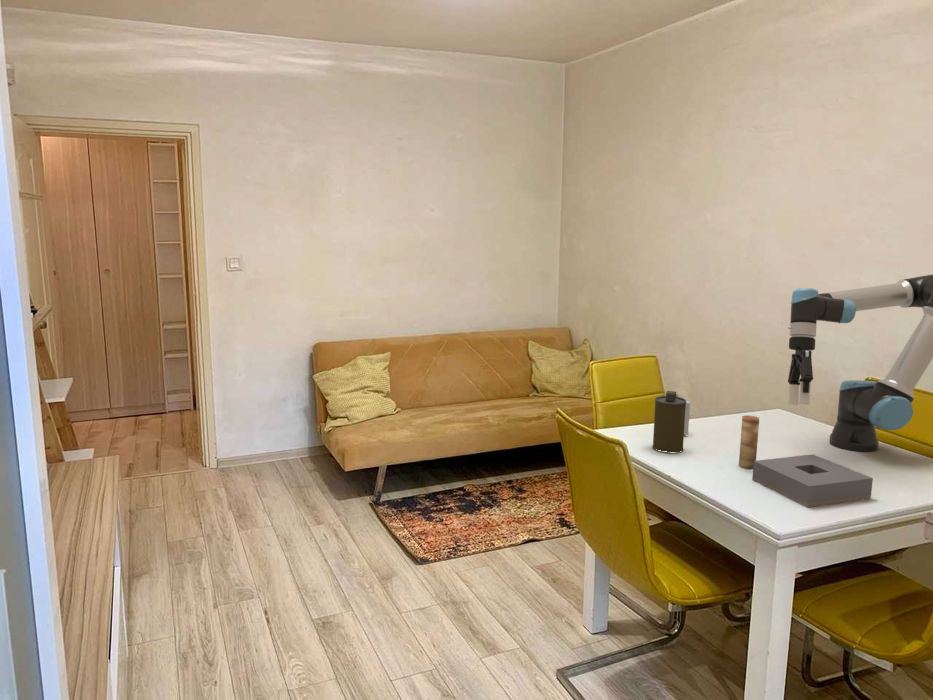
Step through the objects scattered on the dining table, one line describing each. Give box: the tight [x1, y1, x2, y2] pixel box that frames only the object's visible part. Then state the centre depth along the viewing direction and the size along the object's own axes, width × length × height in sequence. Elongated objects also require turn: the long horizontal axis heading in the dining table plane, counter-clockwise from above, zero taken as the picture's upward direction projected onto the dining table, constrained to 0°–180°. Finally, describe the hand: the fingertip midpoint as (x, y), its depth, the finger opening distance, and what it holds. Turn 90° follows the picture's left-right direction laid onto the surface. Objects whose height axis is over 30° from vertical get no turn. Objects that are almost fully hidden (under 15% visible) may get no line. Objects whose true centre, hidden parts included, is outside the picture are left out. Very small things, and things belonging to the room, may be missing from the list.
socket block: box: [751, 454, 874, 508], centre depth 206 cm, size 22×22×6 cm
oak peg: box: [738, 414, 760, 470], centre depth 224 cm, size 5×5×16 cm
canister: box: [651, 390, 688, 453], centre depth 241 cm, size 11×10×20 cm
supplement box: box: [684, 399, 691, 436], centre depth 260 cm, size 7×7×13 cm
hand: (798, 404), depth 223 cm, fingers open, 13 cm apart
